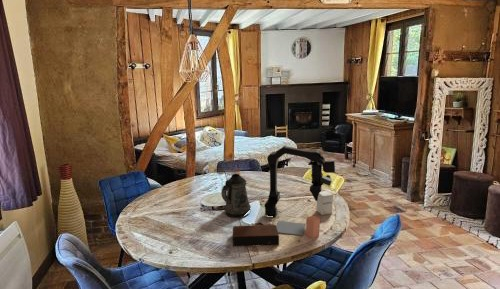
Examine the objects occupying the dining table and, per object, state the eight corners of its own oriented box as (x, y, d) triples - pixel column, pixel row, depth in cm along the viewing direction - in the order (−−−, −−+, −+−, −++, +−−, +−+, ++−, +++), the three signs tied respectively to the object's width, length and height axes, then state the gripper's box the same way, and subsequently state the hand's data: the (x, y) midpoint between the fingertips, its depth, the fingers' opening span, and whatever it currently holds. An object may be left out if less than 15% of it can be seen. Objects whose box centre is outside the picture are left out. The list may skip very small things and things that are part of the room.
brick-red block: (305, 235, 181) (306, 217, 179) (312, 232, 184) (312, 215, 182) (313, 238, 178) (313, 221, 175) (319, 235, 181) (319, 218, 178)
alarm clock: (276, 234, 183) (276, 224, 182) (278, 245, 171) (279, 235, 170) (233, 236, 182) (232, 226, 181) (232, 247, 171) (232, 236, 169)
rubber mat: (273, 232, 184) (273, 231, 184) (277, 221, 197) (277, 220, 197) (302, 235, 180) (302, 234, 180) (305, 224, 194) (305, 223, 193)
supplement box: (321, 215, 206) (322, 195, 203) (316, 210, 213) (316, 191, 210) (332, 213, 208) (333, 194, 205) (326, 209, 215) (327, 190, 212)
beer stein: (253, 208, 217) (253, 171, 211) (245, 221, 198) (244, 181, 193) (229, 206, 221) (228, 169, 216) (219, 218, 203) (217, 179, 197)
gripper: (330, 177, 181) (330, 204, 184) (332, 168, 199) (332, 192, 202) (309, 176, 184) (309, 203, 188) (313, 167, 202) (313, 192, 205)
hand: (317, 197), depth 195 cm, fingers open, 9 cm apart
